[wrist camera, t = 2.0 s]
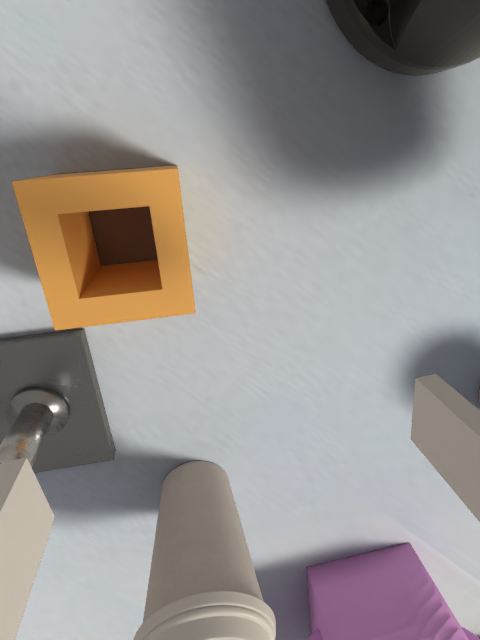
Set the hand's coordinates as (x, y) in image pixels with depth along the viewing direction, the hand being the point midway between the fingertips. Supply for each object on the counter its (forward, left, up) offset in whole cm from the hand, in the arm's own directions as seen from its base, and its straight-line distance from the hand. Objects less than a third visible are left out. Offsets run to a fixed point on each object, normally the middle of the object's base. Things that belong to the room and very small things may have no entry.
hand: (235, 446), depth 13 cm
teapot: (+44, +14, -18) cm, 49 cm away
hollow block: (-5, -5, -18) cm, 19 cm away
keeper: (+8, -14, -18) cm, 24 cm away
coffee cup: (+20, -3, -18) cm, 27 cm away
